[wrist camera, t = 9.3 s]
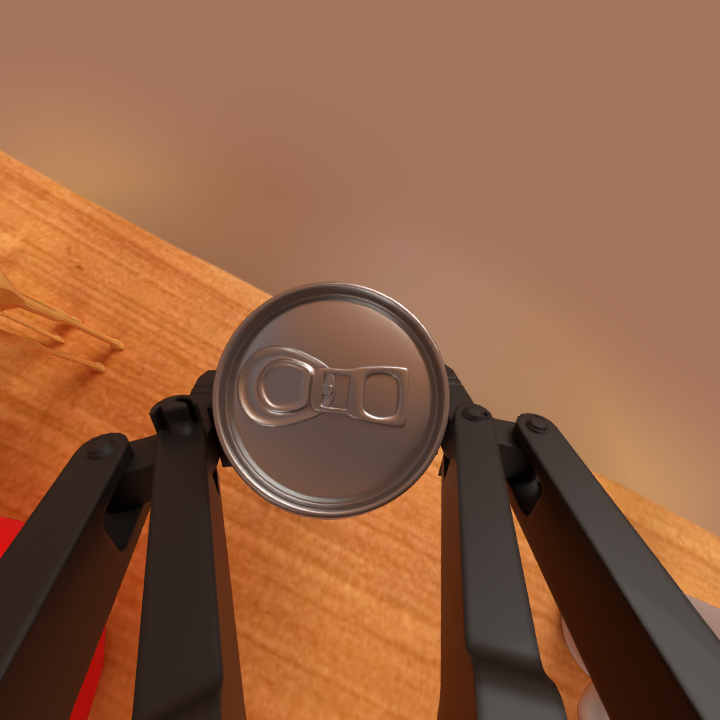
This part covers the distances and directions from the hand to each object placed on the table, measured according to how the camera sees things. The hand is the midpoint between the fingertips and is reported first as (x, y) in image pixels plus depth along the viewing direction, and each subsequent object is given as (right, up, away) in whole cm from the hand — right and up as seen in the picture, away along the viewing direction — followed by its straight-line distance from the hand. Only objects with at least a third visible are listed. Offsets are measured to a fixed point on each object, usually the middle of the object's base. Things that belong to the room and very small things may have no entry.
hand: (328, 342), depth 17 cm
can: (0, -4, +3) cm, 5 cm away
